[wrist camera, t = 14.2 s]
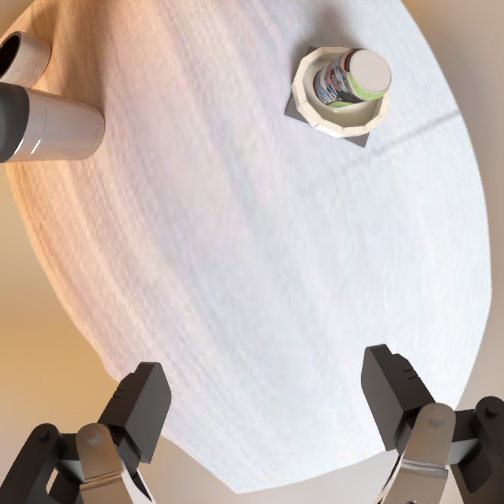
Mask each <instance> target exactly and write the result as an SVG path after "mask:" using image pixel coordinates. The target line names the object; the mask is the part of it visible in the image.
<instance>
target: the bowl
mask: <svg viewBox="0 0 504 504" xmlns="http://www.w3.org/2000/svg"><path fill="white" fill-rule="evenodd" d="M349 50H351V49H348V48H346V47H345V48H344V47H321V48H318V49H317V50H315V51H314V52H312V53H310V54H309V55H307V56H306V57H304V58H303V59H302V60H301V62H300V65H299V68H298V70H297V73H296V75H295V78H294V81H293V83H292V91H293V96H294V100H295V104H296V108H297V110H298V111H299V112H300V113H301V115H302V116H303V117H304V118H305V119H306V120H307V121H308V122H309V124H310V125H311V126H312V127H313V128H314V127H315V128H314V129H317V130H319V131H322V132H324V133H326V134H329V135H331V136H333V137H336V138H342V137H352V136H360V135H363V134H366V133H368V132H370V131H371V130H372V129H373V128H375V127H376V126H377V125H378V124H380V123H381V122H382V121H383V120H384V119H385V116H386V112H387V109H388V105H389V101H390V96H389V93H388V90H387V92H386V93H385V94H384V95H383V96H382V97H380V98H378V99H375V100H371V101H366V102H362V103H358V104H353V105H349V106H345V107H341V108H333V107H329V106H327V105H325V104H324V103H322V102H321V101H320V100H319V99H318V98H317V96H316V95H315V92H314V89H313V79H314V76H315V75H316V73H317V72H318V71H319V70H321V69H322V68H324V67H325V66H326V65H328V64H329V63H331V62H332V61H334V60H335V59H337V58H338V57H340V56H341V55H343V54H344V53H346V52H347V51H349Z"/></svg>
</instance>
